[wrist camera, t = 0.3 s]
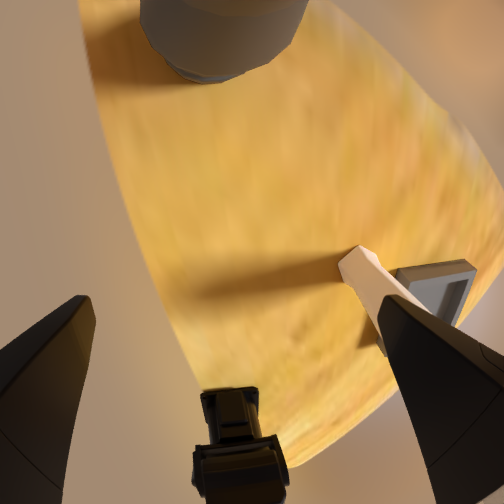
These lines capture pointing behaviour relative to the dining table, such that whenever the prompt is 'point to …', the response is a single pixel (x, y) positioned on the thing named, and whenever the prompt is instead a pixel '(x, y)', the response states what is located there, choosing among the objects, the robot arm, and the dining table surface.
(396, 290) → the perfume bottle
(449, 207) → the dining table surface
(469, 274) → the gray tray
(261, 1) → the candle holder
